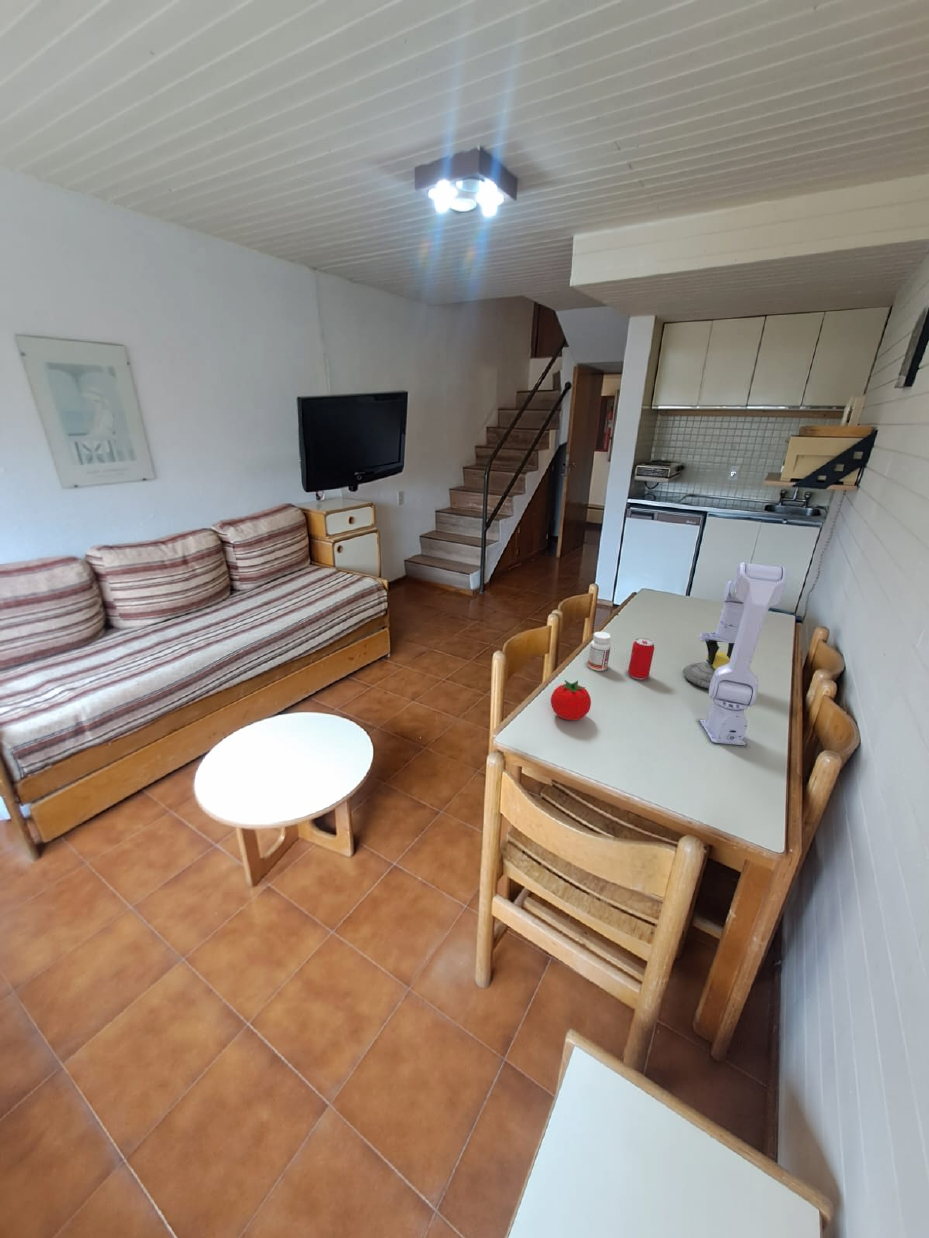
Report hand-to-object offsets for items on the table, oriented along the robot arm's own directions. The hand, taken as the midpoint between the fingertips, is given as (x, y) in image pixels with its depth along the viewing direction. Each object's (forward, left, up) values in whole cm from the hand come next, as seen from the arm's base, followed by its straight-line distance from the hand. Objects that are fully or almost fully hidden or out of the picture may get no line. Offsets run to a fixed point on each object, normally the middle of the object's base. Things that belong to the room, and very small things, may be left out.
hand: (719, 663), depth 149 cm
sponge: (0, 0, -1) cm, 1 cm away
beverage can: (0, +23, -7) cm, 24 cm away
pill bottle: (+4, +35, -7) cm, 36 cm away
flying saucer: (+1, +2, -7) cm, 7 cm away
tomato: (-26, +47, -7) cm, 54 cm away
